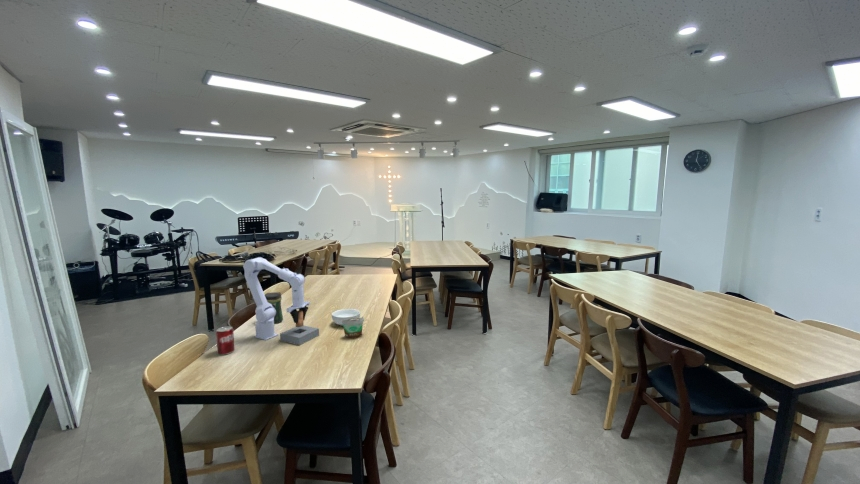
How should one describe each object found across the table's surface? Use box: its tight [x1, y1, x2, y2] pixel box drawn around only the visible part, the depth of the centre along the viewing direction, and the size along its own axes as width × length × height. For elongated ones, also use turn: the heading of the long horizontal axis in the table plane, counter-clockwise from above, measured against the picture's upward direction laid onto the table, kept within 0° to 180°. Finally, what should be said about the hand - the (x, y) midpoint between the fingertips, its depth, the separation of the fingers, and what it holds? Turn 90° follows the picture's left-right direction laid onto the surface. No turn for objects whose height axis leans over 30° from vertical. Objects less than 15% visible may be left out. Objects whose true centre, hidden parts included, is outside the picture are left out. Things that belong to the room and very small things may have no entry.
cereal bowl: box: [331, 308, 361, 327], centre depth 200 cm, size 17×17×7 cm
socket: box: [279, 325, 320, 346], centre depth 178 cm, size 14×14×4 cm
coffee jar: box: [264, 292, 284, 324], centre depth 202 cm, size 10×8×19 cm
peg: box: [295, 309, 305, 327], centre depth 177 cm, size 4×4×8 cm
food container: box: [342, 316, 365, 339], centre depth 180 cm, size 12×6×10 cm, turn 117°
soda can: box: [215, 326, 236, 356], centre depth 161 cm, size 7×7×12 cm
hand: (299, 321), depth 178 cm, fingers closed on peg, 4 cm apart
